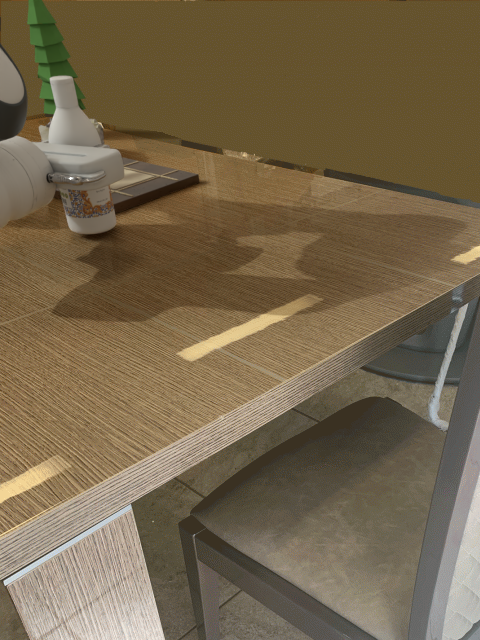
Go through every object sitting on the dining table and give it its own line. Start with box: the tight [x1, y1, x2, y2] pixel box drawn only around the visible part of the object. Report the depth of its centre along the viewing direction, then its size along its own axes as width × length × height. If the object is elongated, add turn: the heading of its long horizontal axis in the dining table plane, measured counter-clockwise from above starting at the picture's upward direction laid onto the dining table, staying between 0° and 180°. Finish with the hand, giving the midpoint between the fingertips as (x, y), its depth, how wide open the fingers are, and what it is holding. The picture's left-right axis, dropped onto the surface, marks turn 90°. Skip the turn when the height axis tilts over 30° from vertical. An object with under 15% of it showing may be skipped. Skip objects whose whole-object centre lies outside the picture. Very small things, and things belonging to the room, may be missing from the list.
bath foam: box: [49, 76, 117, 235], centre depth 90 cm, size 7×7×20 cm
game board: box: [53, 157, 200, 214], centre depth 114 cm, size 20×20×2 cm
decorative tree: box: [26, 0, 87, 115], centre depth 136 cm, size 10×9×30 cm
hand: (79, 148), depth 90 cm, fingers closed on bath foam, 7 cm apart
